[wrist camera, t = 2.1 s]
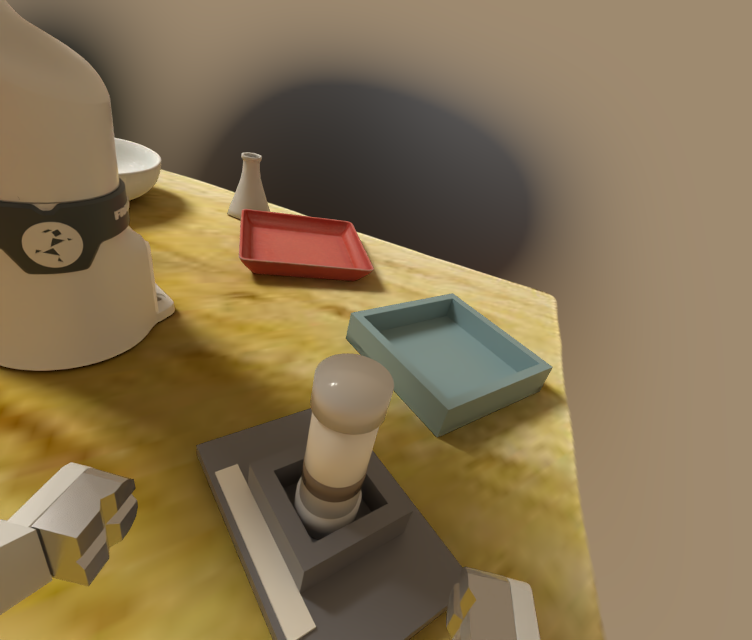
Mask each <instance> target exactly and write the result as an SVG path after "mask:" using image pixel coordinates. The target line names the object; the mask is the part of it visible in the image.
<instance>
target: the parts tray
mask: <svg viewBox="0 0 752 640" xmlns="http://www.w3.org/2000/svg"><path fill="white" fill-rule="evenodd" d="M346 339H347V340H348V341H349V342H350V344H351V345H352V346H353V347H354V348H355V349H356V350H357V351H358V352H359V353H360V354H361V355H362V356H365V357H368V358H371V359H373V360H375V361H377V362H378V363H380V364H381V365H383V366H384V367H385V368H386V369H387V370H388V371H389V373H390V374H391V376H392V378H393V381H394V391H395V392H396V393H397V395H398V396H399V397H400V398H401V399H402V400H403V401H404V402H405V403H406V404H407V405H408V406H409V408H410V409H411V410H412V411H413V412H414V413H415V414H416V415H417V416H418V417H419V418H420V419H421V421H422V422H423V423H424V424H425V425H426V426H427V427H428V428H429V429H430V430H431V431H432V433H433V434H434V435H435V436H436V437H440V436H442V435H444V434H446V433H448V432H451V431H453V430H455V429H457V428H459V427H462V426H464V425H466V424H468V423H470V422H473V421H475V420H477V419H479V418H481V417H484V416H486V415H488V414H490V413H492V412H495V411H497V410H499V409H501V408H503V407H506V406H508V405H510V404H512V403H515V402H517V401H519V400H521V399H523V398H526V397H528V396H530V395H532V394H534V393H537V392H539V391H540V390H541V388H542V386H543V384H544V382H545V380H546V378H547V377H548V375H549V373H550V371H551V369H552V366H550V365H549V364H548V363H546V362H545V361H544V360H542V359H541V358H540V357H538V356H537V355H536V354H534V353H533V352H531V351H530V350H529V349H527V348H526V347H525V346H523V345H522V344H521V343H519V342H518V341H517V340H515V339H514V338H512V337H511V336H510V335H508V334H507V333H506V332H504V331H503V330H502V329H500V328H499V327H498V326H496V325H495V324H493V323H492V322H491V321H489V320H488V319H487V318H485V317H484V316H483V315H481V314H480V313H479V312H477V311H476V310H474V309H473V308H472V307H470V306H469V305H468V304H466V303H465V302H464V301H462V300H461V299H460V298H458V297H457V296H455V295H454V294H453V293H452V294H447V295H442V296H437V297H432V298H426V299H421V300H416V301H411V302H406V303H400V304H395V305H390V306H385V307H380V308H374V309H369V310H364V311H359V312H354V313H351V316H350V321H349V326H348V331H347V336H346Z"/></svg>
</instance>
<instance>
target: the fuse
mask: <svg viewBox="0 0 752 640" xmlns="http://www.w3.org/2000/svg"><path fill="white" fill-rule="evenodd" d="M393 390H394V381H393V378H392V376H391V374H390V373H389V371H388V370H387V369H386V368H385V367H384V366H383V365H381V364H380V363H378V362H377V361H375V360H373V359H371V358H368V357H365V356H362V355H357V354H338V355H333V356H330V357H328V358H326V359H324V360H323V361H322V362H320V364H319V365H318V366H317V368H316V370H315V375H314V382H313V388H312V394H311V400H310V406H311V410H312V416H311V422H310V428H309V434H308V440H307V446H306V452H305V455H304V461H303V467H302V476H301V478H300V479H299V481H298V484H297V488H296V494H295V501H294V509H295V511H296V513H297V515H298V516H299V518H300V520H301V522H302V524H303V526H304V527H305V529H306V531H307V533H308V535H309V536H310V537H313V538H315V539H319V540H320V539H322V538H324V537H326V536H328V535H329V534H331V533H333V532H335V531H337V530H339V529H341V528H343V527H345V526H346V525H348V524H350V523H352V522H354V521H355V519H356V516H357V513H358V509H359V506H360V502H361V497H362V492H361V488H362V486H363V483H364V479H365V476H366V472H367V469H368V464H369V460H370V457H371V453H372V450H373V446H374V443H375V439H376V436H377V432H378V429H379V426H380V425H381V424H382V423H383V421H384V419H385V417H386V414H387V410H388V407H389V403H390V400H391V397H392V393H393Z"/></svg>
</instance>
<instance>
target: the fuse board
mask: <svg viewBox="0 0 752 640" xmlns="http://www.w3.org/2000/svg"><path fill="white" fill-rule="evenodd" d="M311 416H312V410H311V408H310V409H307V410H304V411H301V412H298V413H295V414H292V415H288V416H285V417H282V418H279V419H276V420H273V421H270V422H267V423H264V424H261V425H258V426H254V427H251V428H248V429H245V430H242V431H239V432H236V433H233V434H230V435H227V436H224V437H221V438H217V439H214V440H211V441H208V442H205V443H202V444H199V445H196V446H197V456H198V458H199V461H200V463H201V466H202V468H203V471H204V473H205V475H206V478H207V480H208V483H209V485H210V488H211V490H212V493H213V495H214V497H215V500H216V502H217V505H218V507H219V510H220V512H221V514H222V517H223V519H224V522H225V524H226V527H227V529H228V532H229V534H230V536H231V539H232V541H233V544H234V546H235V549H236V551H237V553H238V556H239V558H240V561H241V563H242V566H243V568H244V570H245V573H246V575H247V578H248V580H249V583H250V585H251V588H252V590H253V592H254V595H255V597H256V600H257V602H258V605H259V607H260V609H261V612H262V614H263V617H264V619H265V622H266V624H267V627H268V629H269V631H270V634H271V636H272V639H273V640H409V639H410V638H412V637H413V636H414V635H415V634H417V633H418V632H419V631H420V630H422V629H423V628H424V627H426V626H427V625H428V624H429V623H431V622H432V621H433V620H434V619H436V618H437V617H438V616H439V615H441V614H442V613H443V612H445V611H446V610H447V605H448V600H449V596H450V592H451V590H452V588H453V586H454V585H455V584H457V583H459V574H460V572H461V570H462V566H461V565H460V564H459V563H458V561H457V560H456V559H455V557H454V556H453V555H452V553H451V552H450V551H449V549H448V548H447V547H446V546H445V544H444V543H443V542H442V540H441V539H440V538H439V536H438V535H437V534H436V533H435V531H434V530H433V529H432V527H431V526H430V525H429V523H428V522H427V521H426V519H425V518H424V517H423V516H422V514H421V513H420V512H419V510H418V509H417V508H416V506H415V505H414V504H413V503H412V501H411V500H410V499H409V497H408V496H407V495H406V493H405V492H404V491H403V490H402V488H401V487H400V486H399V484H398V483H397V482H396V480H395V479H394V478H393V476H392V475H391V474H390V473H389V471H388V470H387V469H386V467H385V466H384V465H383V463H382V462H381V461H380V460H379V458H378V457H377V456H376V454H375V453H374V452H373V450H372V453H371V457H370V460H369V464H368V469H367V472H366V476H365V479H364V483H363V486H362V488H361V492H362V497H361V502H360V506H359V509H358V513H357V516H356V519H355V521H354V522H352V523H350V524H348V525H346V526H345V527H343V528H341V529H339V530H337V531H335V532H333V533H331V534H329V535H328V536H326V537H324V538H322V539H320V540H319V539H315V538H313V537H310V536H309V535H308V533H307V531H306V529H305V527H304V526H303V524H302V522H301V520H300V518H299V516H298V515H297V513H296V511H295V509H294V501H295V494H296V488H297V484H298V481H299V479H300V478H301V476H302V467H303V461H304V455H305V452H306V446H307V440H308V434H309V428H310V422H311Z"/></svg>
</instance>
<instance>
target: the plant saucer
mask: <svg viewBox="0 0 752 640" xmlns="http://www.w3.org/2000/svg"><path fill="white" fill-rule="evenodd" d="M239 258H240V260H241V261H242V262H243V263H244V265H245V266H246V267H247V268H249V269H250V270H251V271H252V272H253V273H256V274H266V275H280V276H293V277H306V278H320V279H332V280H346V281H356V280H358V279H360V278H362V277H364V276H366V275H368V274H369V273H371V272H372V271H373V270H374V268H373V266H372V264H371V261H370V259H369V257H368V255H367V253H366V251H365V249H364V247H363V245H362V243H361V240H360V239H359V236H358V235H357V232H356V230H355V228H354V226H353V224H352V223H350V222H347V221H340V220H332V219H324V218H316V217H308V216H300V215H292V214H284V213H276V212H268V211H259V210H251V209H243V210H242V211H241V225H240V244H239Z"/></svg>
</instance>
